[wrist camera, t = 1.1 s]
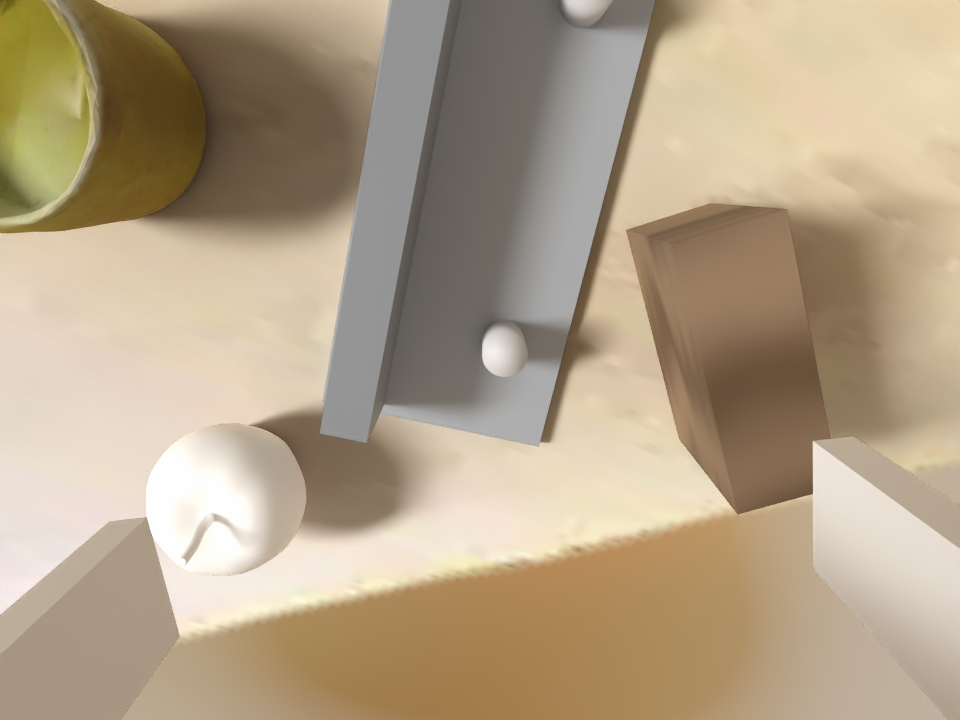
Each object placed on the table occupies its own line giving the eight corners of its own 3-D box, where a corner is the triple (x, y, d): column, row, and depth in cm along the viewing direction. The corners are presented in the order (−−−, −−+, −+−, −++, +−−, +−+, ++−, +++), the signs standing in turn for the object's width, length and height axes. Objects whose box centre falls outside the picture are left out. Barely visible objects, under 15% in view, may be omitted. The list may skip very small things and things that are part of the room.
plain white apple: (167, 491, 34) (74, 580, 26) (219, 377, 32) (136, 436, 25) (288, 548, 35) (233, 651, 27) (345, 439, 33) (303, 516, 25)
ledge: (421, -174, 26) (405, -268, 21) (681, -107, 27) (731, -183, 21) (325, 397, 33) (294, 439, 27) (537, 442, 33) (548, 491, 28)
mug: (285, 82, 27) (69, 74, 18) (194, 258, 32) (-8, 316, 23) (76, -114, 27) (-234, -214, 19) (19, 91, 32) (-246, 87, 24)
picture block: (625, 229, 30) (673, 244, 23) (713, 202, 30) (792, 206, 22) (678, 438, 33) (737, 514, 25) (760, 414, 33) (845, 485, 25)
